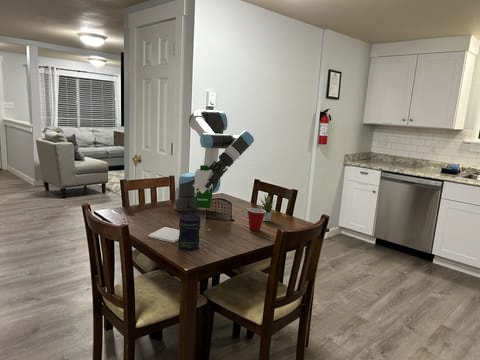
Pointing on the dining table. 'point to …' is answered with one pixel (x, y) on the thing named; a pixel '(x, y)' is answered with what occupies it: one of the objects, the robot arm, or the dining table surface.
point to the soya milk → (200, 180)
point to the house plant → (266, 205)
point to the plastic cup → (255, 218)
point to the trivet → (166, 234)
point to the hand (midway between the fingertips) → (197, 189)
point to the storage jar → (189, 232)
